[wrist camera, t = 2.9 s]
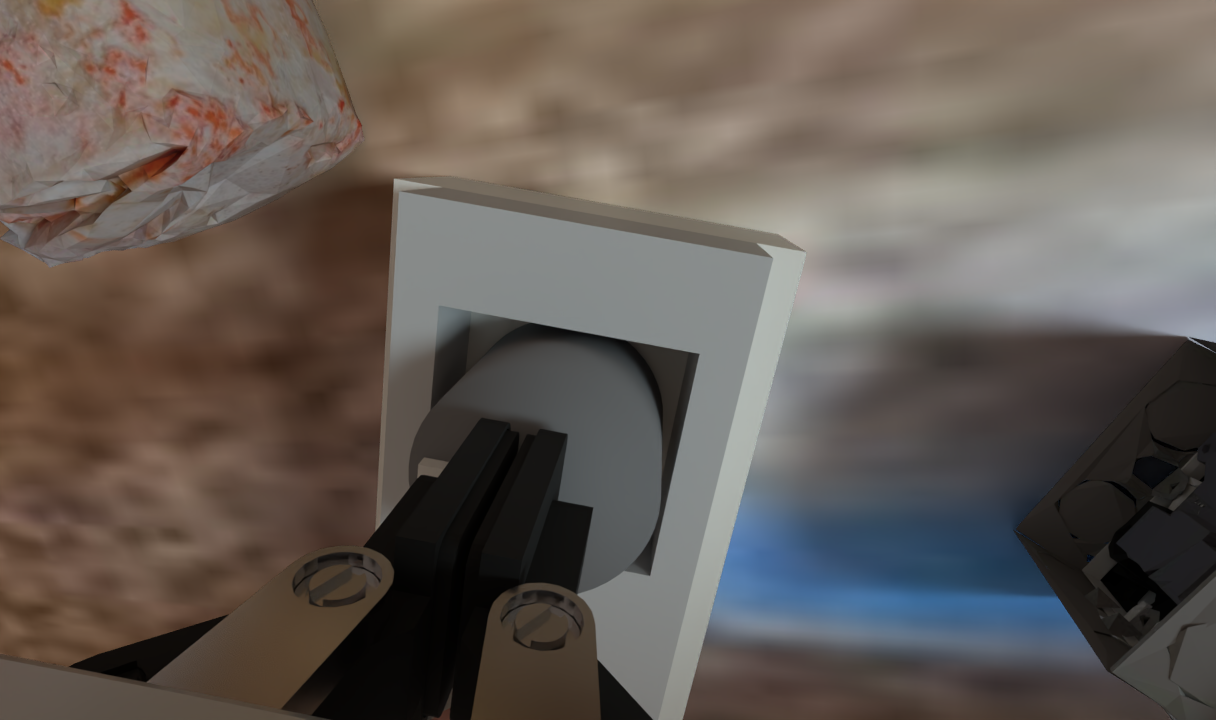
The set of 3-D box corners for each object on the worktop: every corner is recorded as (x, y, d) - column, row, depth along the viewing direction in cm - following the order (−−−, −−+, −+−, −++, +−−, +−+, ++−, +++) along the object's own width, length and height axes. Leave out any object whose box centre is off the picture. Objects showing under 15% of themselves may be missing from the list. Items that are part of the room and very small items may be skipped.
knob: (680, 337, 15) (685, 402, 11) (643, 514, 16) (634, 629, 12) (479, 300, 15) (410, 350, 11) (462, 479, 17) (395, 580, 13)
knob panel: (778, 234, 18) (834, 269, 12) (611, 904, 28) (594, 1117, 21) (450, 175, 19) (341, 181, 12) (395, 855, 28) (317, 1051, 22)
